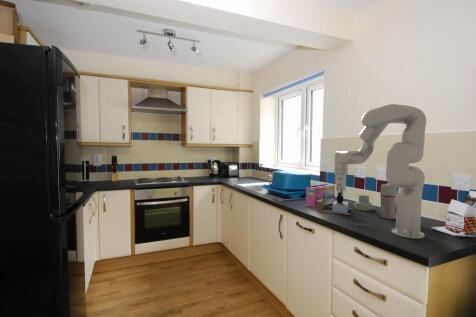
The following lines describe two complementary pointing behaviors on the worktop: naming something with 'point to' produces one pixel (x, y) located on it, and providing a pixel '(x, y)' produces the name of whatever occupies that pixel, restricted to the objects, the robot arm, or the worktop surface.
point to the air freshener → (363, 203)
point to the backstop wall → (320, 204)
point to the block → (340, 207)
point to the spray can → (388, 201)
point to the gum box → (320, 194)
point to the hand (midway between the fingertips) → (340, 201)
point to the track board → (334, 211)
